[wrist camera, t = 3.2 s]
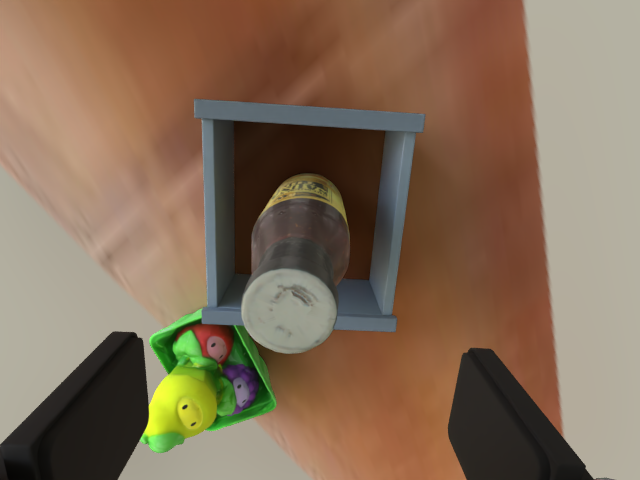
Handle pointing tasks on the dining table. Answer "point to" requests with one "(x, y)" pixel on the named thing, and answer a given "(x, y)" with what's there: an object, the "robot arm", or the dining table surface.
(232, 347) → the fruit basket
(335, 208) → the sauce bottle
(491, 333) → the dining table surface
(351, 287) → the blue wooden frame
